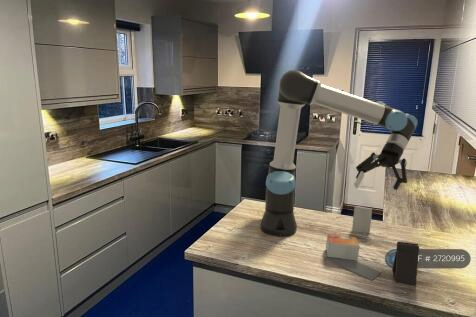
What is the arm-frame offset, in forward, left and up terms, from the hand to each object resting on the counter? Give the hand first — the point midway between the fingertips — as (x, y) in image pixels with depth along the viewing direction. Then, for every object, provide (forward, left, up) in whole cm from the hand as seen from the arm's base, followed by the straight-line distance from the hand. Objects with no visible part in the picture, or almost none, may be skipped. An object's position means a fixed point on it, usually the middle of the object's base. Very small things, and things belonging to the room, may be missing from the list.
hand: (371, 190), depth 138 cm
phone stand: (+22, -17, -20) cm, 34 cm away
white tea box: (-5, +5, -20) cm, 22 cm away
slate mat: (+7, -23, -20) cm, 32 cm away
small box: (+5, -16, -17) cm, 24 cm away
